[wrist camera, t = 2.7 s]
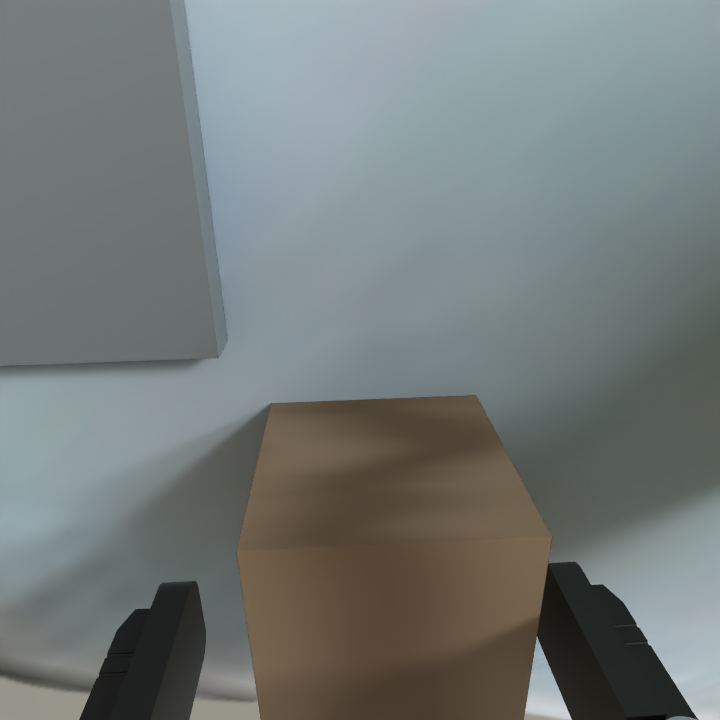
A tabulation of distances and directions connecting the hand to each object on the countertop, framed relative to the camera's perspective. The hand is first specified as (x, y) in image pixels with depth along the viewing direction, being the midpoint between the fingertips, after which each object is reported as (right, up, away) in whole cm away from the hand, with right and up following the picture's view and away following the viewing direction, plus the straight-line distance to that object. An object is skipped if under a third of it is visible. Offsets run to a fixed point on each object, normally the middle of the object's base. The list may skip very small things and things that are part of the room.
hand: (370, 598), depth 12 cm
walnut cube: (0, +2, +4) cm, 5 cm away
